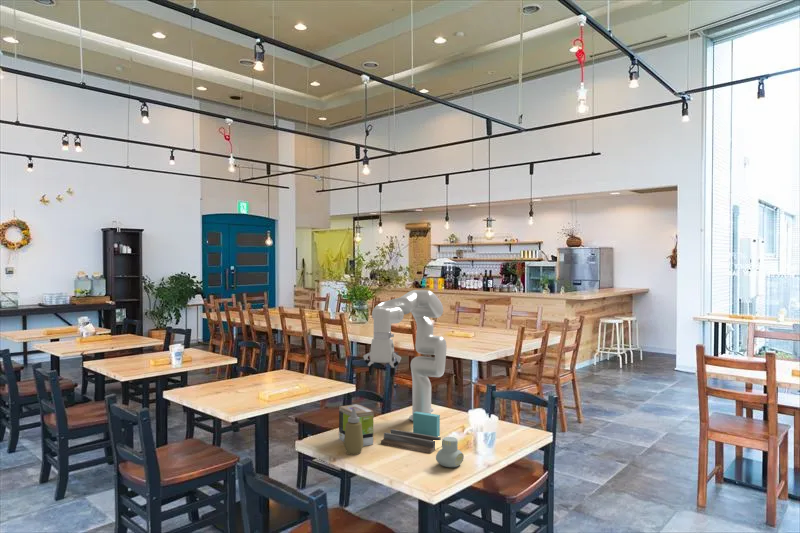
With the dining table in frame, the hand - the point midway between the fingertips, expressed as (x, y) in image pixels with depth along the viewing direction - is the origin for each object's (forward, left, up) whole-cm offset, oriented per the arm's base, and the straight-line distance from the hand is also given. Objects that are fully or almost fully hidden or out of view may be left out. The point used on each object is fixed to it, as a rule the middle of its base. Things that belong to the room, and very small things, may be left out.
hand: (381, 375), depth 229 cm
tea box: (+4, -11, -30) cm, 32 cm away
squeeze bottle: (+16, -4, -30) cm, 34 cm away
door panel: (-19, +12, -29) cm, 37 cm away
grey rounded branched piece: (+9, +36, -30) cm, 48 cm away
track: (-5, +12, -29) cm, 32 cm away
